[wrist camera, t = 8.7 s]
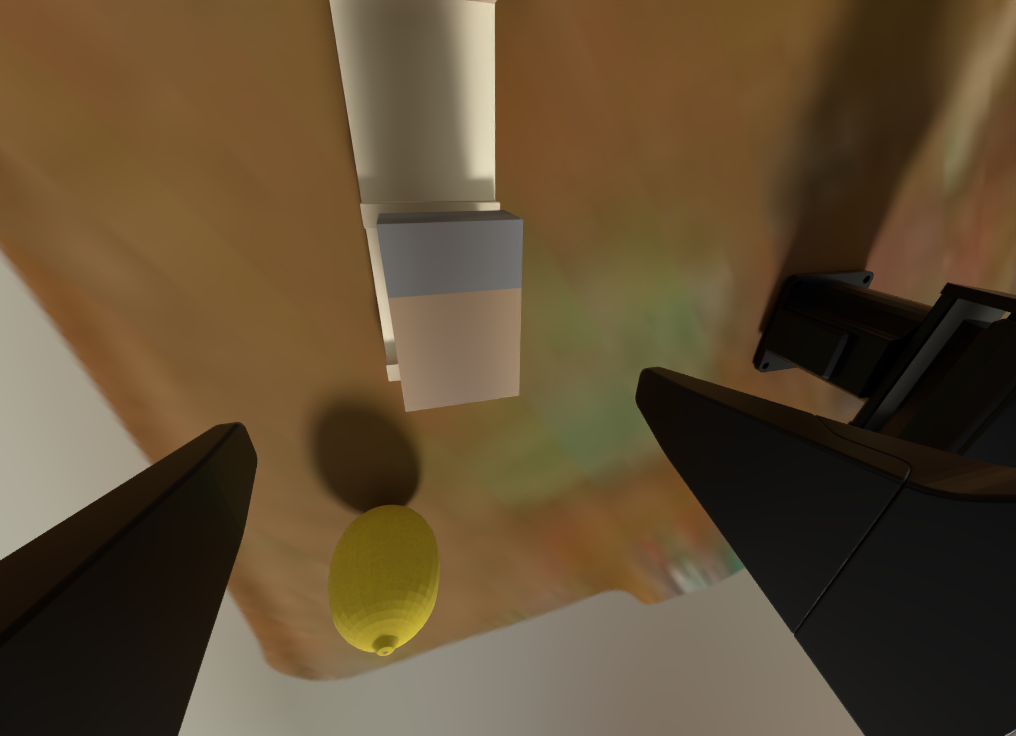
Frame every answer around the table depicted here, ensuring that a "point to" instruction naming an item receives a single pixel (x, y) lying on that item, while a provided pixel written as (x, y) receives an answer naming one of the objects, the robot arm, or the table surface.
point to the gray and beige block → (454, 303)
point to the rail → (418, 112)
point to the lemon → (384, 578)
